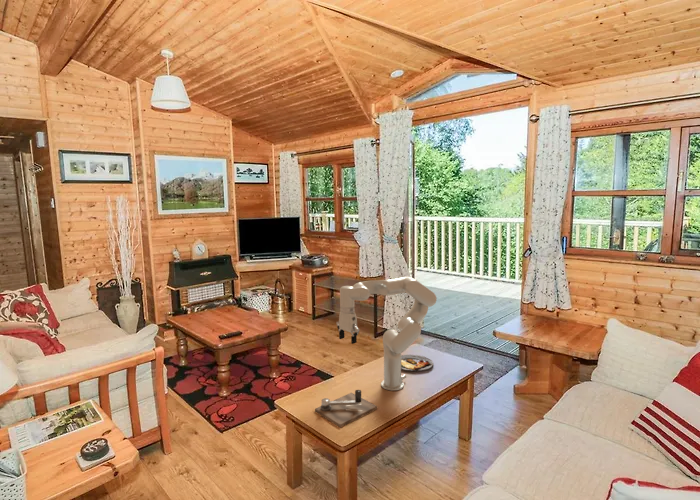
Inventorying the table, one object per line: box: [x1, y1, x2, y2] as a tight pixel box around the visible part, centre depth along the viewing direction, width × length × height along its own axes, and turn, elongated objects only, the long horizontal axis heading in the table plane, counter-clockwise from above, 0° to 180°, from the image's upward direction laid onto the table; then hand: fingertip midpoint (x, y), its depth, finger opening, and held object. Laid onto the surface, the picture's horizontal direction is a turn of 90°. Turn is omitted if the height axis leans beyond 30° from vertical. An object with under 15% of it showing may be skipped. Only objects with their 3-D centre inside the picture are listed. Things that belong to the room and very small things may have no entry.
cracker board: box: [314, 392, 378, 429], centre depth 199 cm, size 24×19×2 cm
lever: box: [321, 389, 362, 408], centre depth 198 cm, size 20×4×7 cm, turn 92°
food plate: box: [401, 354, 434, 372], centre depth 252 cm, size 25×23×4 cm
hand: (347, 340), depth 215 cm, fingers open, 9 cm apart
